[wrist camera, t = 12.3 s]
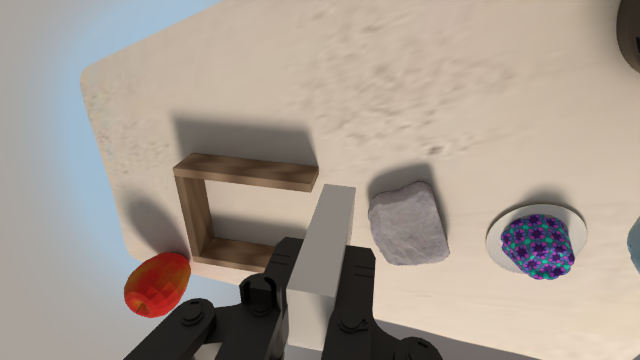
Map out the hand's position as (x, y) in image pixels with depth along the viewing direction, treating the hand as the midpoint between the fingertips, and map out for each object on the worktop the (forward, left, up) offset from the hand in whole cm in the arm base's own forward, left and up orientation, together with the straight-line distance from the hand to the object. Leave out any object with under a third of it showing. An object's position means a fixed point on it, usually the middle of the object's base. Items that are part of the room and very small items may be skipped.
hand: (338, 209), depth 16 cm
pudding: (-24, +19, -27) cm, 41 cm away
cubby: (+16, +20, -26) cm, 37 cm away
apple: (+32, +34, -27) cm, 54 cm away
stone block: (-7, +19, -27) cm, 34 cm away
